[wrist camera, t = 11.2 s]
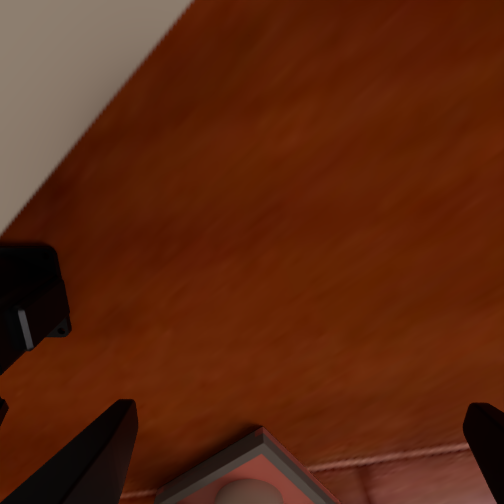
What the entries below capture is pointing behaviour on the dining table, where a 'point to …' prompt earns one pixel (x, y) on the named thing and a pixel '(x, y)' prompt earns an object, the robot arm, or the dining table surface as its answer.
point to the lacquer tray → (247, 474)
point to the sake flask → (249, 493)
